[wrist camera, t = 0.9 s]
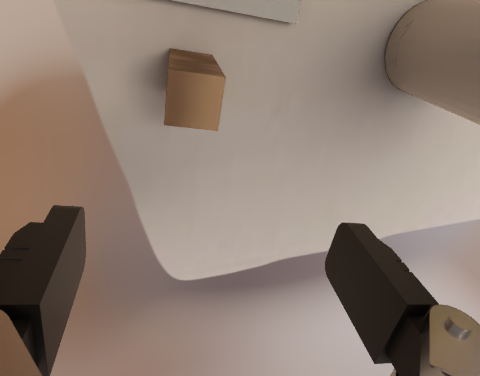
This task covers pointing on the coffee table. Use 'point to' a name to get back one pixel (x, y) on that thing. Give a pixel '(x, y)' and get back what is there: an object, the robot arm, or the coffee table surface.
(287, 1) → the socket block
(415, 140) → the coffee table surface
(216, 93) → the walnut peg
